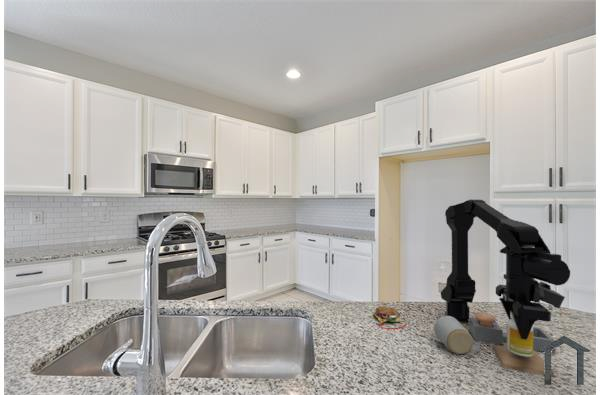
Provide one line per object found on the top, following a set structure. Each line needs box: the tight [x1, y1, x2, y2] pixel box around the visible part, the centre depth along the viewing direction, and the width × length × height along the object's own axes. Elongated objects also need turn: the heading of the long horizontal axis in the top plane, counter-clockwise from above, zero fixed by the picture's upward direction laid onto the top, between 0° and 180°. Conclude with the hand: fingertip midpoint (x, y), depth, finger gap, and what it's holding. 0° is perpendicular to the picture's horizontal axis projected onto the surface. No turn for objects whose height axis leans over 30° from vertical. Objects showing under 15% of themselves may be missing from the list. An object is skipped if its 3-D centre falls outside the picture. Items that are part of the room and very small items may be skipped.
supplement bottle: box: [506, 312, 534, 357], centre depth 72 cm, size 5×5×10 cm
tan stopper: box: [474, 311, 497, 327], centre depth 85 cm, size 5×5×6 cm
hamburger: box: [373, 305, 407, 330], centre depth 96 cm, size 14×14×6 cm
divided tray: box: [469, 316, 556, 355], centre depth 83 cm, size 19×9×4 cm, turn 69°
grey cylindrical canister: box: [433, 315, 481, 355], centre depth 78 cm, size 11×8×8 cm
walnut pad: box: [491, 343, 555, 378], centre depth 72 cm, size 10×10×1 cm
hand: (519, 333), depth 72 cm, fingers closed on supplement bottle, 5 cm apart
